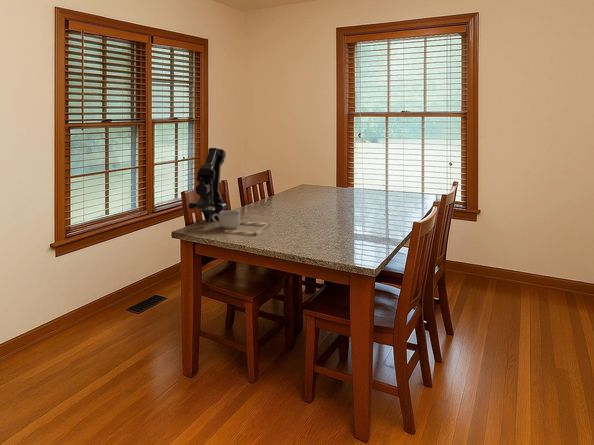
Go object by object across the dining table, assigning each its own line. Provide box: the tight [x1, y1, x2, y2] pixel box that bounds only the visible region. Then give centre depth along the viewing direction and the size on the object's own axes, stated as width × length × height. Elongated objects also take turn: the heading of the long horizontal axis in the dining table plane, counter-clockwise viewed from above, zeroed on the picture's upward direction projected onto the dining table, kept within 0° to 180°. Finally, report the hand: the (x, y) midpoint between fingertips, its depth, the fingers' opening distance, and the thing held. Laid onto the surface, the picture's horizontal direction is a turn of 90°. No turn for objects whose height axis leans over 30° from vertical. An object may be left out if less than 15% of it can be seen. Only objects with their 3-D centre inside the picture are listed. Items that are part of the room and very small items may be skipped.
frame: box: [224, 221, 271, 236], centre depth 228 cm, size 16×20×1 cm
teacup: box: [212, 209, 241, 230], centre depth 230 cm, size 14×11×8 cm
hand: (208, 222), depth 233 cm, fingers closed
